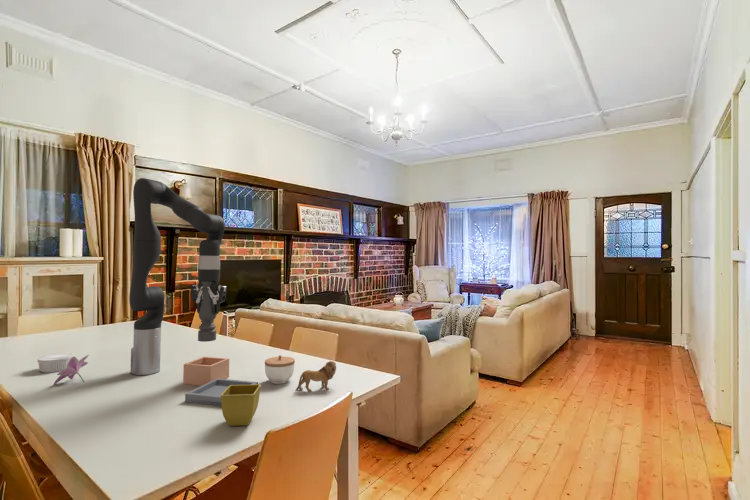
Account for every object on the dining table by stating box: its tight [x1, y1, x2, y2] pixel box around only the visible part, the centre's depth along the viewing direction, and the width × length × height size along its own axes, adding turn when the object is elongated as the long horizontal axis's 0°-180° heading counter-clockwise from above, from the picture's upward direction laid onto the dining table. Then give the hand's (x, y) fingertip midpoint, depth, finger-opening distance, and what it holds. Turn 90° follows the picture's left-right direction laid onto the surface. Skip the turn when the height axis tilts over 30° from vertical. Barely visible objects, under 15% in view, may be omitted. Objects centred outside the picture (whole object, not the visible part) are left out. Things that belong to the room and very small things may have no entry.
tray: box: [184, 378, 259, 407], centre depth 126 cm, size 16×16×2 cm
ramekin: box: [37, 352, 75, 373], centre depth 152 cm, size 11×11×5 cm
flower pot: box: [221, 384, 261, 427], centre depth 106 cm, size 9×9×9 cm
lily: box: [53, 354, 90, 385], centre depth 137 cm, size 12×12×10 cm
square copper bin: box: [182, 356, 230, 387], centre depth 141 cm, size 11×11×7 cm
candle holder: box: [197, 281, 218, 343], centre depth 141 cm, size 6×6×25 cm
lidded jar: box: [264, 355, 296, 385], centre depth 141 cm, size 11×11×9 cm
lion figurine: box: [295, 360, 337, 393], centre depth 133 cm, size 15×5×9 cm, turn 118°
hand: (208, 313), depth 141 cm, fingers closed on candle holder, 6 cm apart
